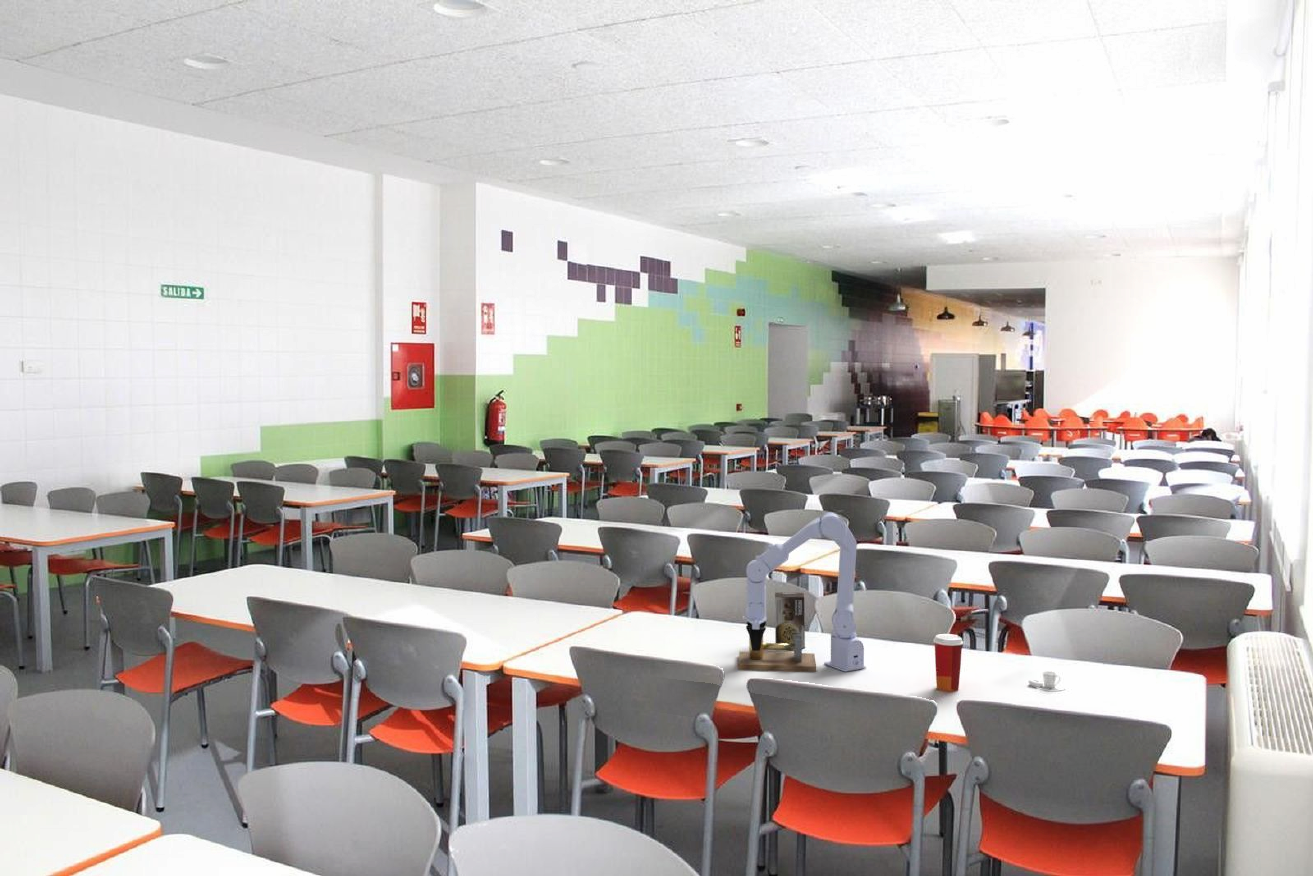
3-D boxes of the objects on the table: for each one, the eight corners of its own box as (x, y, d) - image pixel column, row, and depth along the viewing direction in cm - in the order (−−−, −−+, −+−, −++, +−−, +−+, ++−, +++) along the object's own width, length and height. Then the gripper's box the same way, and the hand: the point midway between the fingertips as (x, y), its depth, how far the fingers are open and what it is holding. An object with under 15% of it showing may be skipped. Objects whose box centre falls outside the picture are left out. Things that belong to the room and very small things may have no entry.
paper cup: (957, 684, 279) (957, 633, 279) (966, 693, 272) (967, 640, 271) (928, 684, 279) (929, 633, 278) (937, 693, 271) (937, 640, 271)
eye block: (814, 658, 306) (814, 630, 305) (816, 671, 292) (816, 642, 291) (739, 656, 308) (739, 628, 307) (738, 669, 294) (738, 640, 294)
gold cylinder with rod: (794, 656, 301) (794, 628, 301) (794, 660, 297) (794, 631, 297) (749, 655, 303) (749, 627, 302) (749, 658, 299) (749, 630, 298)
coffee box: (804, 643, 323) (804, 592, 322) (805, 648, 317) (805, 596, 316) (774, 642, 324) (774, 591, 323) (775, 648, 318) (775, 596, 317)
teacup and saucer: (1025, 687, 278) (1025, 672, 278) (1038, 681, 283) (1038, 666, 283) (1057, 694, 272) (1057, 679, 271) (1070, 688, 277) (1070, 673, 277)
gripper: (743, 596, 307) (742, 641, 308) (741, 607, 293) (741, 654, 293) (766, 597, 306) (766, 642, 307) (766, 607, 292) (766, 655, 293)
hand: (756, 648), depth 300 cm, fingers closed on gold cylinder with rod, 4 cm apart
